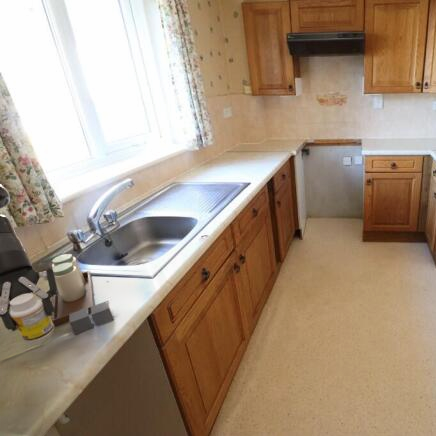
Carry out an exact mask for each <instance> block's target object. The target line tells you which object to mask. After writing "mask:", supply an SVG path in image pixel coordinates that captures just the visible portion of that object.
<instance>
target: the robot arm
mask: <svg viewBox="0 0 436 436" xmlns="http://www.w3.org/2000/svg"><path fill="white" fill-rule="evenodd" d="M10 201H11V196H10V193H9V191H8V190H7V189H6V188H5V187H4V185H2V184H1V183H0V209H3V208H6V207H7V206H8V205H9V204H10ZM12 224H13V223H12V222H11V220H10V218H9V217H7V216H6V215H4V214H0V318H1V320H2V322H3V323H2V324H3V325H4V327H5V329H7V330H8V331H10V330H11V331H12V332H15V331H17V330H18V328H17V326H16V325H15V323H14V321H13V319H12V318H11V316H10V310H11V305H10V301H11V300H12V299H14V298H15V297H17V296H20V295H22V294H27V293H31V294H33V295H34V296H36V297H38V299H40V300H41V301H42V303H43V305H44V307H45V309H46V311H47V314H48V315H49V316H50V317H51V315H53V314H52V312H54V311H55V309H54V307H53V305H52V302H53V301H52V300H51V299H52V298H53V296H54V295H56V294H58V290H57V284H56V279H55V274H54V271H53V269H52V268H47V269H46V270H43V271H37V270H35V268H34V267H33V264H32V262H31V260H30V258H29V255H28V253H27V251H26V250H27V249H26V248H25V247H24V245H23V243H22V240H20V238H19V237H18V235H17V233H16V231H15V228H14V226H13V225H12ZM40 278H42V279H43V280H44V281H48V287H49V290H47V291H44V290H43V289H42V288H41V287H39V286H38V285H37V284H38V282H39V280H40Z"/></svg>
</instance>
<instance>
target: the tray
mask: <svg viewBox="0 0 436 436" xmlns="http://www.w3.org/2000/svg"><path fill="white" fill-rule="evenodd" d="M82 274H83V276H84V279H85V281H86V282H85V284H84V287H85V289H86V294H85V295H84V296H83V297H81V298H79V299H77V300H74V301H70V302H65V301H63V299H62V297H61V295H60V293H59V291H58V294H56V295H54V296H52V301H51V302H52V305H53V307H54V309H55V311H54V312H52V314H53V315H51V316H50V319H51V321H52V323H53V325H54V328H55V327H58V326H59V327H60V326H61V325H64V324H67V323H69V314H72V313H75V312H78V311H80V310H83V309H86V308H88V309H89V312H90V314H91V307H92V306H95V305H96V303H95V292H94V284H93V276H92V274H91V271H90V270H87V271H84V272H82ZM57 290H58V289H57Z"/></svg>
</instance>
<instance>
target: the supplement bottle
mask: <svg viewBox="0 0 436 436" xmlns="http://www.w3.org/2000/svg"><path fill="white" fill-rule="evenodd" d="M10 305H11V307H10V312H9V313H10V316H11V318H12V319H13V321H14V323H15V325H16V327H17V330H18V332H19V334H20V335H21V337H22V339H23V340H24V341H25V342H28V343H33V342H38V341H40V340H43V339H45V338H47V337H48V336H49V335H50V334H52V333H53V331H54V330H55V327H54V325H53V323H52V321H51V316H49V315H48V314H47V311H46V309H45V307H44V305H43V303H42V299H41V298H36V297H35V294H33V293H32V292H31V293H27V294H22V295H20V296H17V297H15V298H14V299H12V300H11V301H10Z"/></svg>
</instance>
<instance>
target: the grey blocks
mask: <svg viewBox="0 0 436 436" xmlns="http://www.w3.org/2000/svg"><path fill="white" fill-rule="evenodd" d="M114 320H115V317H114V313H113V309H112V307H111V304H110V301H109V300H105V301H103V302H100V303H98V304H95V306H92V307H91V314H90V312H89V309H88V308H86V309H83V310H80V311H78V312H75V313H72V314H69V322H68V323H69V325H70V327H71V330H72V331H73V333H74V335H75V336H76V335H79V334H81V333H84V332H87V331H89V330H91V329H94V328H95V327H99V326H103V325H105V324H108V323H110V322H113V321H114ZM94 325H95V327H94Z"/></svg>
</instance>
